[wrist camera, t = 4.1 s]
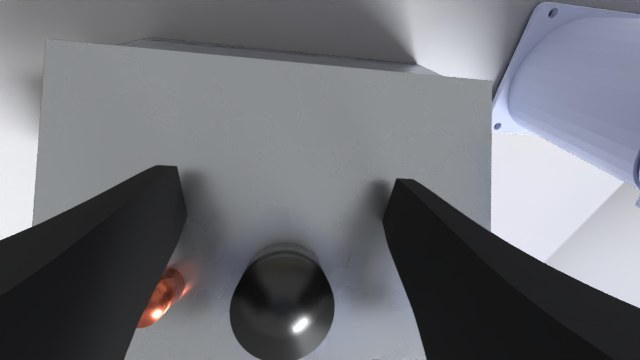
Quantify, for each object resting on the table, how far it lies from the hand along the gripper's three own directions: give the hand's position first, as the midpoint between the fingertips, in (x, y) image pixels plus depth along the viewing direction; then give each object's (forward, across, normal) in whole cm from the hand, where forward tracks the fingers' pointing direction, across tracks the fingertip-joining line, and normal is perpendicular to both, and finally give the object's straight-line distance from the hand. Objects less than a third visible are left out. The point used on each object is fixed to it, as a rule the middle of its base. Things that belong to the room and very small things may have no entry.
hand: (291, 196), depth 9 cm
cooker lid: (-1, 0, +4) cm, 4 cm away
